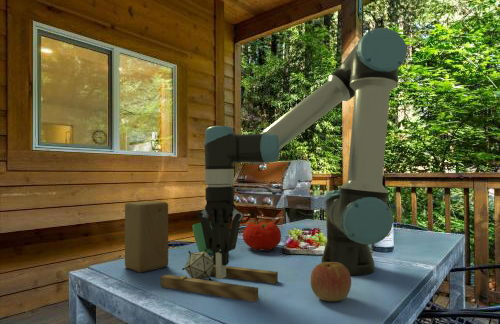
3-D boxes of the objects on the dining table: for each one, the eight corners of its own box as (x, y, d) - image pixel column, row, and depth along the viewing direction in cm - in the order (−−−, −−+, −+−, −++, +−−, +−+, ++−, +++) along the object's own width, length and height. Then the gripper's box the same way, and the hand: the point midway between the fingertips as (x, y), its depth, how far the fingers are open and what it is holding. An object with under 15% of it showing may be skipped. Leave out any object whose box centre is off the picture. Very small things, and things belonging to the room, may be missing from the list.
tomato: (249, 255, 114) (249, 226, 114) (239, 245, 130) (239, 220, 130) (288, 252, 117) (287, 225, 118) (274, 243, 133) (273, 219, 133)
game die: (205, 296, 86) (213, 271, 81) (175, 284, 86) (181, 259, 81) (215, 270, 94) (223, 246, 89) (187, 260, 94) (194, 235, 89)
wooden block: (169, 266, 101) (169, 201, 102) (139, 274, 94) (139, 204, 94) (152, 261, 108) (152, 200, 108) (123, 267, 100) (123, 202, 101)
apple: (357, 306, 69) (356, 267, 69) (316, 307, 68) (315, 269, 69) (342, 291, 78) (341, 257, 78) (306, 292, 77) (305, 258, 77)
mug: (223, 253, 117) (223, 225, 117) (196, 256, 113) (196, 227, 113) (210, 245, 130) (210, 220, 130) (186, 248, 126) (186, 222, 126)
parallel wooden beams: (281, 278, 88) (281, 261, 88) (254, 302, 72) (254, 281, 72) (200, 267, 99) (200, 253, 99) (160, 286, 83) (160, 269, 83)
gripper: (248, 185, 86) (250, 276, 85) (206, 185, 91) (207, 270, 90) (235, 186, 79) (236, 285, 78) (190, 186, 84) (191, 278, 83)
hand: (221, 277), depth 84 cm, fingers closed
